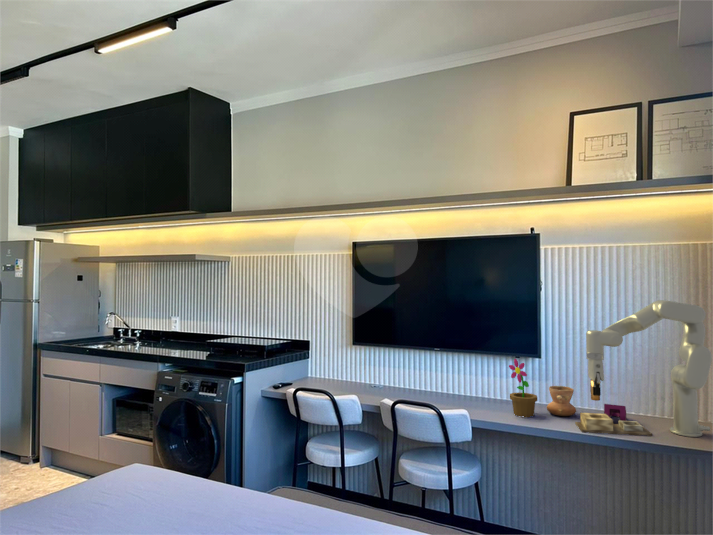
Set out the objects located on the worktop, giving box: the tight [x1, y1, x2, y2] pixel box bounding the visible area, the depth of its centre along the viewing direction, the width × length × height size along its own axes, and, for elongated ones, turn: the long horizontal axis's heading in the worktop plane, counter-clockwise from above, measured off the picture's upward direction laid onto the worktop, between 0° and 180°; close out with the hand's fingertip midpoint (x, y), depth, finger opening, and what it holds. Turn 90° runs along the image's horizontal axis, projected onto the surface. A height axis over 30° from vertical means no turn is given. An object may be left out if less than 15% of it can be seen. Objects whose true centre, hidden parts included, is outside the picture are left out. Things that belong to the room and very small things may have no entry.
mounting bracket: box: [603, 403, 627, 421], centre depth 249 cm, size 9×8×18 cm
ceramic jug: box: [546, 385, 577, 417], centre depth 263 cm, size 18×14×14 cm
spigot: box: [590, 380, 601, 402], centre depth 236 cm, size 4×4×9 cm
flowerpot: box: [508, 358, 538, 418], centre depth 262 cm, size 14×14×30 cm
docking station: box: [574, 412, 653, 437], centre depth 234 cm, size 30×14×6 cm, turn 78°
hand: (595, 393), depth 236 cm, fingers closed on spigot, 4 cm apart
